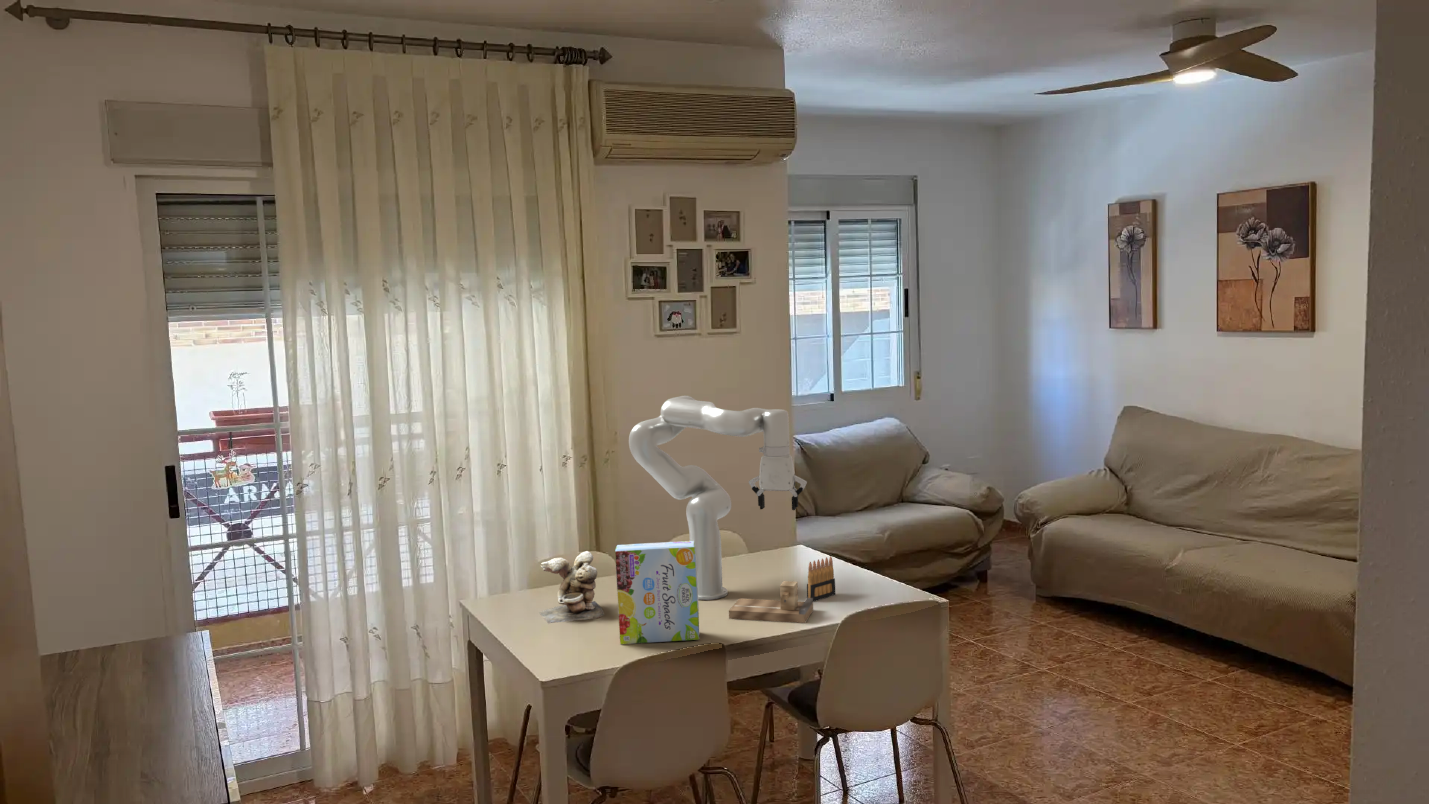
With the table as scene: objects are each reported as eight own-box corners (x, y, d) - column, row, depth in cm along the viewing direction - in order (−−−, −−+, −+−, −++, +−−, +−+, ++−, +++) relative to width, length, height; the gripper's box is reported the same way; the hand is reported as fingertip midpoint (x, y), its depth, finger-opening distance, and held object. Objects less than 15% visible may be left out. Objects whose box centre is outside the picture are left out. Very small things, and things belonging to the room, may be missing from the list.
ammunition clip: (811, 602, 318) (810, 562, 316) (806, 600, 319) (805, 561, 318) (835, 594, 324) (835, 556, 323) (831, 593, 326) (830, 555, 325)
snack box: (699, 631, 294) (696, 539, 291) (700, 641, 285) (696, 547, 282) (620, 634, 293) (616, 542, 290) (618, 645, 284) (614, 550, 281)
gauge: (778, 612, 300) (777, 588, 299) (786, 602, 310) (786, 578, 310) (792, 613, 299) (791, 588, 298) (800, 602, 309) (799, 579, 308)
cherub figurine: (547, 625, 303) (544, 563, 302) (535, 608, 320) (532, 550, 318) (608, 617, 309) (605, 556, 307) (593, 600, 326) (591, 543, 324)
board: (729, 618, 304) (728, 606, 304) (739, 606, 315) (739, 594, 315) (805, 622, 298) (804, 610, 298) (813, 610, 309) (812, 598, 309)
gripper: (745, 453, 312) (746, 510, 314) (803, 454, 307) (804, 512, 309) (751, 449, 319) (752, 505, 321) (808, 450, 315) (809, 507, 316)
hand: (778, 508), depth 315 cm, fingers open, 9 cm apart
